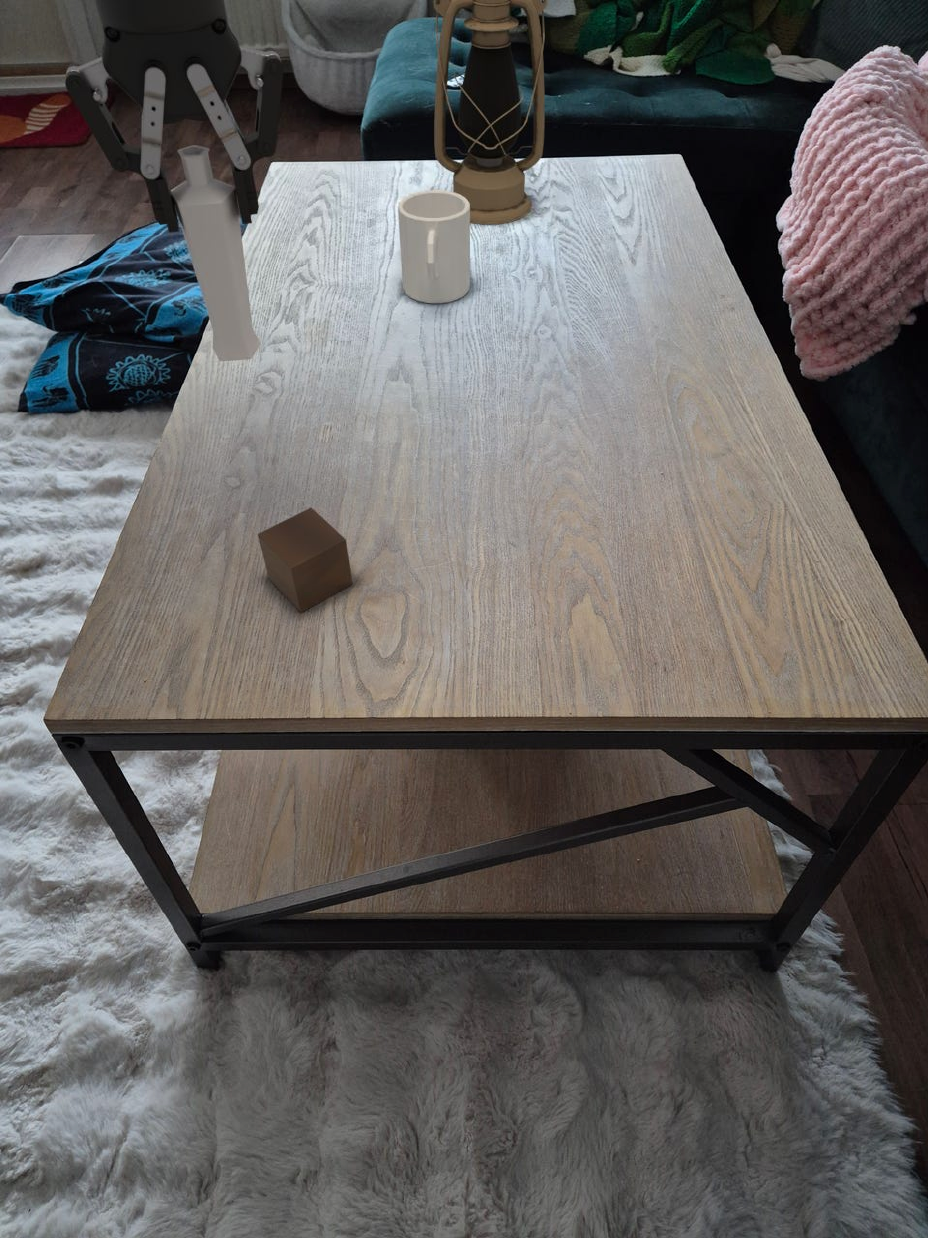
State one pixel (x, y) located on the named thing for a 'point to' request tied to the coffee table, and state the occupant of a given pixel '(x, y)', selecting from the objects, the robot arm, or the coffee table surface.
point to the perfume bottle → (216, 253)
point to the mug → (435, 245)
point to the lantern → (490, 107)
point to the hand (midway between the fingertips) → (209, 222)
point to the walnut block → (306, 559)
